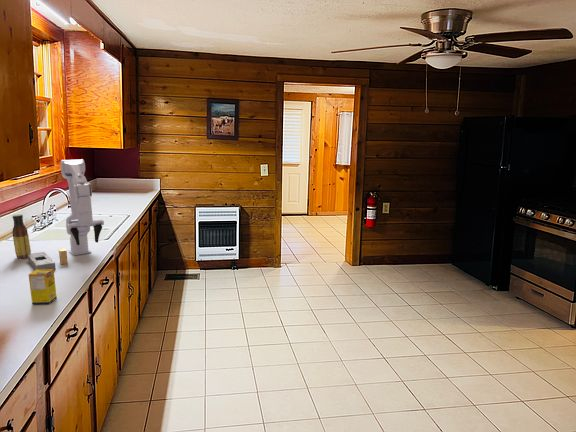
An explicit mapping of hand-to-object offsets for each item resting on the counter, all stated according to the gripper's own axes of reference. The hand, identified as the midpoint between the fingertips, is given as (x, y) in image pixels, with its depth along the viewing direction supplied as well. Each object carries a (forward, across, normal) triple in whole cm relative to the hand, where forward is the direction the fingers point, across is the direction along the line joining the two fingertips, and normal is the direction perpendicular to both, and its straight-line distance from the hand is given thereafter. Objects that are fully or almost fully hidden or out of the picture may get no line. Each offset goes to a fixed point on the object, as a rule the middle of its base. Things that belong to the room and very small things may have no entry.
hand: (87, 243), depth 209 cm
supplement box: (+10, -25, -35) cm, 44 cm away
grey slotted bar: (+10, -16, +14) cm, 23 cm away
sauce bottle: (+10, -20, +33) cm, 40 cm away
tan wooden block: (+10, -8, +10) cm, 16 cm away
